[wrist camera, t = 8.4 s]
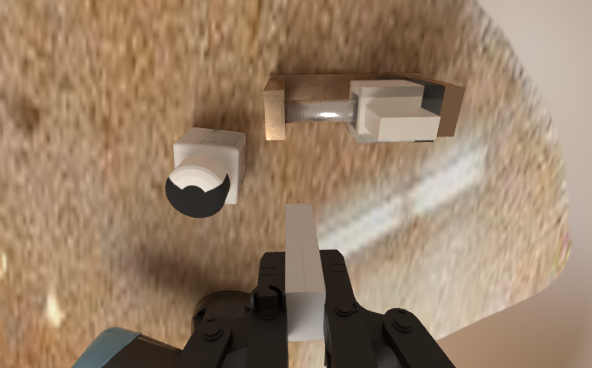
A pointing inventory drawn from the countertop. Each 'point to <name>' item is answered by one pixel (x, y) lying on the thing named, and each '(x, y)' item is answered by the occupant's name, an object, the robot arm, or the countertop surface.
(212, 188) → the container
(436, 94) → the dark grey block
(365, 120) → the stepped block with cap
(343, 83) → the rod stand
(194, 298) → the countertop surface
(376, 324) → the robot arm
